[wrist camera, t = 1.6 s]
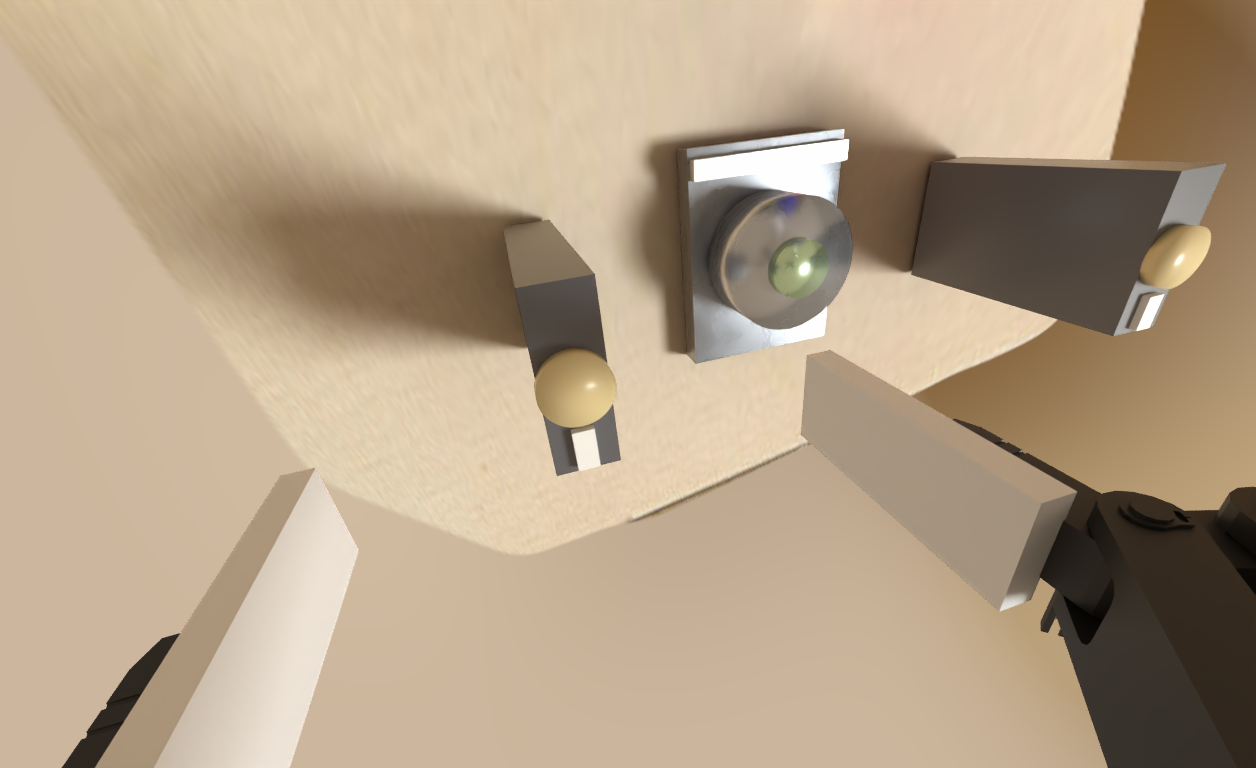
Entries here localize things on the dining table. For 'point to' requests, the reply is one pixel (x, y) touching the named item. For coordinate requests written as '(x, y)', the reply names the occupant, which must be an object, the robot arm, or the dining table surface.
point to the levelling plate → (695, 238)
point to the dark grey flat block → (564, 346)
